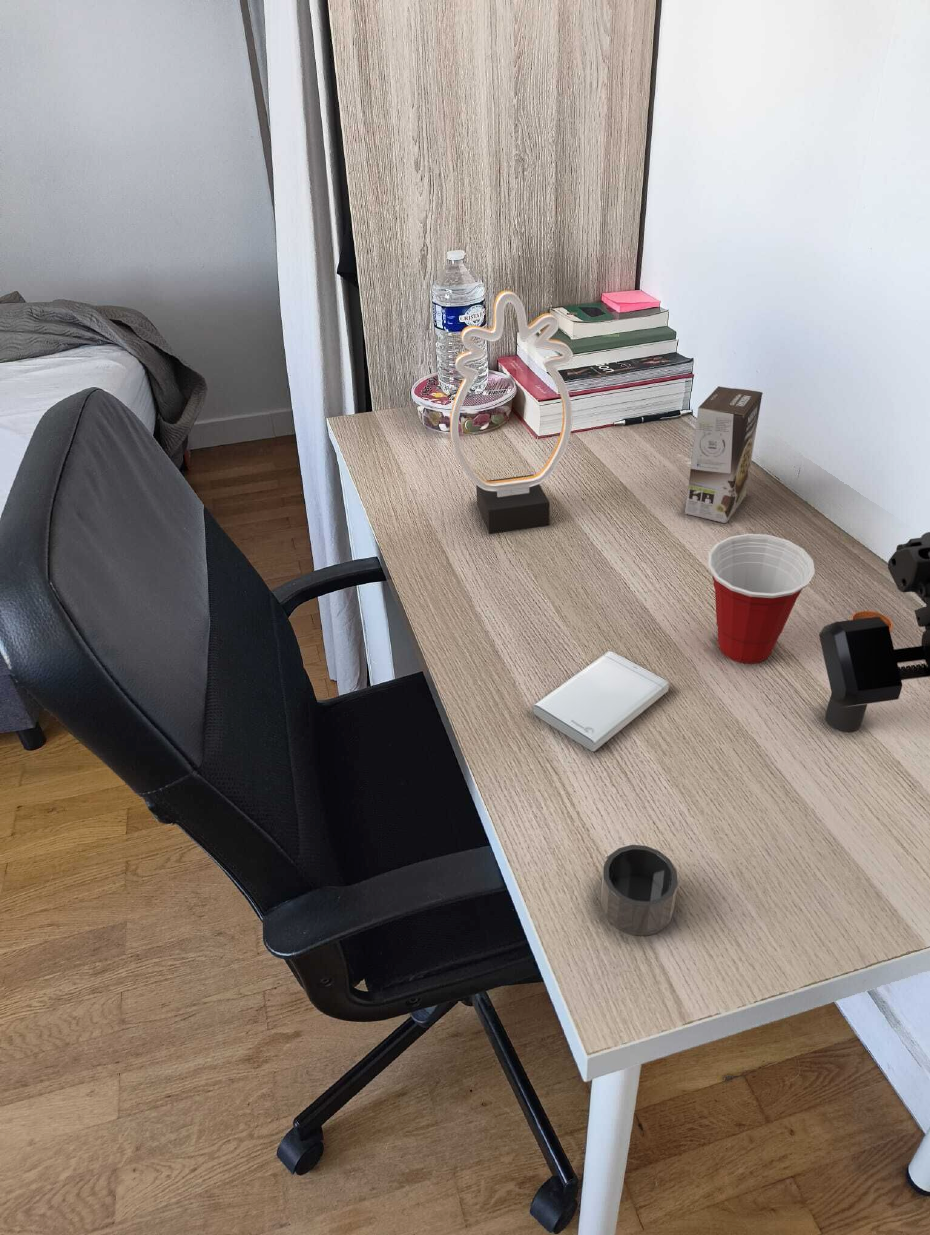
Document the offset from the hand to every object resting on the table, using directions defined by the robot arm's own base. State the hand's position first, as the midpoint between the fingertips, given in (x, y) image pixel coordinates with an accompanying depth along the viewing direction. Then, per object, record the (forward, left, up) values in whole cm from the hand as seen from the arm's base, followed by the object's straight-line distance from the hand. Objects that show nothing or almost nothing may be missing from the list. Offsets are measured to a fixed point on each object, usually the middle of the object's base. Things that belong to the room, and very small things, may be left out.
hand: (890, 666), depth 71 cm
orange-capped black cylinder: (+6, -5, -14) cm, 16 cm away
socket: (-1, +26, -14) cm, 29 cm away
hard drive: (+21, +14, -14) cm, 29 cm away
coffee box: (+47, -25, -14) cm, 55 cm away
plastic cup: (+20, -5, -14) cm, 25 cm away
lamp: (+61, +1, -14) cm, 62 cm away
